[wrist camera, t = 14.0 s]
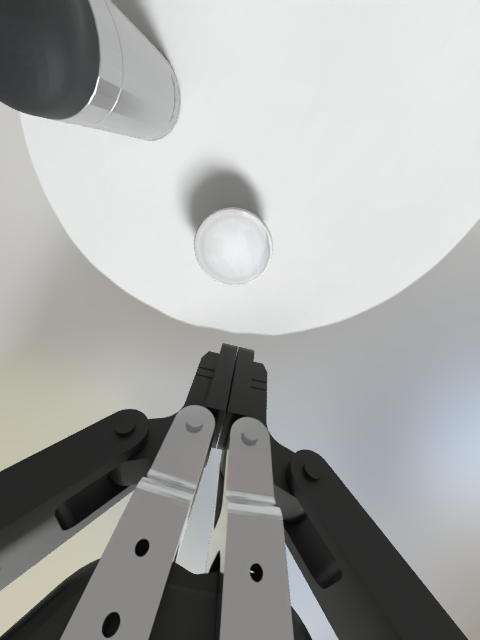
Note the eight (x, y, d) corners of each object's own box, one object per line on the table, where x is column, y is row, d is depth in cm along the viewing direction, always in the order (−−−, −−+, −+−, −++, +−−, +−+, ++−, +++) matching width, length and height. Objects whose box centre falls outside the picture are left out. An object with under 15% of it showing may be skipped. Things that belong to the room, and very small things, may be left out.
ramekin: (286, 246, 39) (288, 256, 35) (234, 286, 44) (230, 299, 39) (241, 185, 35) (236, 187, 31) (188, 236, 40) (178, 244, 35)
